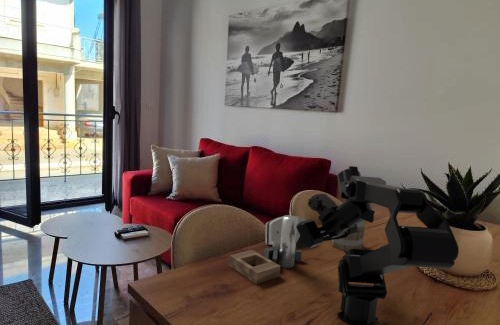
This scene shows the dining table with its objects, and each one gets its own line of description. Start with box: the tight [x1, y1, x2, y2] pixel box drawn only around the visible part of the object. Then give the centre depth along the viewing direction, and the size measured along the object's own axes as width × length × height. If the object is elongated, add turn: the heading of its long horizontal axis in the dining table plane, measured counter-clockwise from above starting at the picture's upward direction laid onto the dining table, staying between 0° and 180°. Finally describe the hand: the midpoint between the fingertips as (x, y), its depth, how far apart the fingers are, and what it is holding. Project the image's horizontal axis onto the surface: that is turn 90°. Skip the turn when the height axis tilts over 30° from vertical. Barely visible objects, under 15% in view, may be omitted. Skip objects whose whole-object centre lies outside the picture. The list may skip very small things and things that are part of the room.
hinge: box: [264, 216, 307, 247], centre depth 114 cm, size 17×5×10 cm, turn 119°
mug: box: [329, 219, 366, 252], centre depth 117 cm, size 16×11×12 cm
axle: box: [278, 214, 299, 269], centre depth 96 cm, size 4×4×14 cm
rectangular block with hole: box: [228, 249, 281, 285], centre depth 91 cm, size 12×8×3 cm, turn 38°
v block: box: [263, 245, 303, 264], centre depth 99 cm, size 7×12×3 cm, turn 128°
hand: (308, 243), depth 90 cm, fingers open, 9 cm apart
